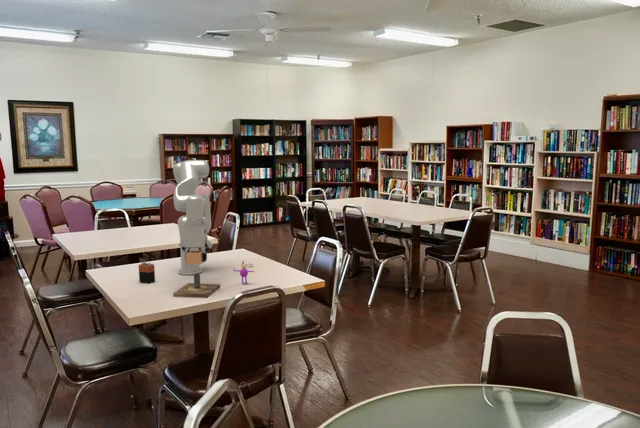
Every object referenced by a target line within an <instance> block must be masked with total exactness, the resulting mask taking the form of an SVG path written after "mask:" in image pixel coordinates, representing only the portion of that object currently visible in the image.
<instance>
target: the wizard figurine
mask: <svg viewBox="0 0 640 428" xmlns="http://www.w3.org/2000/svg"><path fill="white" fill-rule="evenodd" d="M240 265H241V269H236V270H235V269H233V270H232V271H233V272H239V274H240V276H241V284H245V285H248V280H247V276H248V274H249V273H255V270H248V269H247V268H254V265H253V263H250V265H248V264H247V263H245V262H244V260H242V261H241V263H240ZM244 279H245V281H244ZM244 282H245V283H244Z"/></svg>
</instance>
